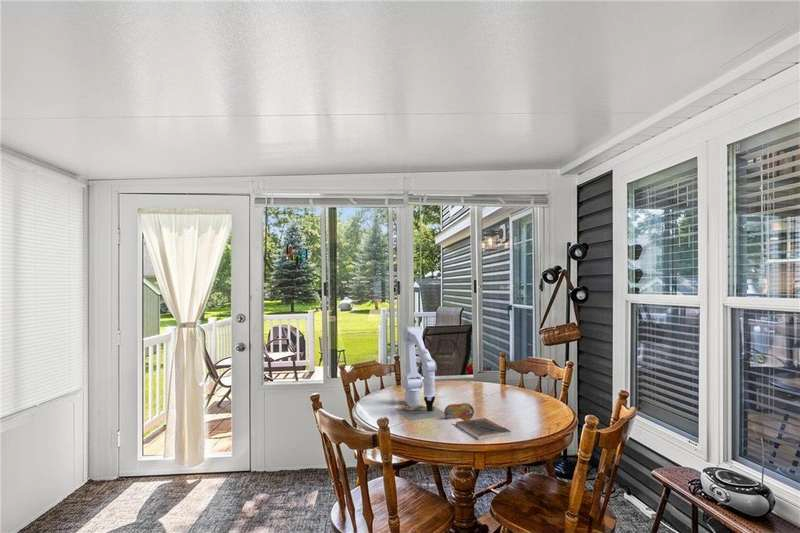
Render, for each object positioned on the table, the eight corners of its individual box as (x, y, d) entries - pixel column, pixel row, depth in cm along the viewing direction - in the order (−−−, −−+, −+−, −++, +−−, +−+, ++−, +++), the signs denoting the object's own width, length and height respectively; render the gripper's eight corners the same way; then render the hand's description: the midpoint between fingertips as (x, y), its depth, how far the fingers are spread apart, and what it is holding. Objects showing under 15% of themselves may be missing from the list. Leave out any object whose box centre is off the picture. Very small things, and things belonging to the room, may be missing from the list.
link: (401, 410, 233) (401, 404, 233) (402, 408, 237) (402, 402, 237) (434, 410, 231) (434, 404, 232) (434, 408, 235) (434, 402, 236)
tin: (445, 422, 217) (445, 405, 217) (443, 421, 220) (443, 403, 220) (474, 420, 221) (474, 403, 221) (471, 418, 224) (471, 401, 224)
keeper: (414, 407, 239) (414, 400, 239) (418, 407, 239) (418, 400, 239) (413, 412, 230) (413, 404, 230) (418, 412, 230) (418, 404, 230)
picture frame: (511, 436, 199) (485, 422, 219) (511, 430, 199) (485, 417, 219) (479, 441, 193) (455, 426, 213) (478, 435, 193) (455, 421, 213)
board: (394, 411, 237) (394, 408, 237) (432, 407, 244) (432, 404, 244) (409, 423, 216) (409, 420, 216) (449, 418, 223) (449, 415, 223)
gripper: (437, 387, 222) (437, 415, 221) (436, 381, 236) (437, 407, 236) (423, 387, 222) (423, 415, 222) (423, 381, 237) (423, 407, 236)
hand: (429, 411), depth 229 cm, fingers closed
